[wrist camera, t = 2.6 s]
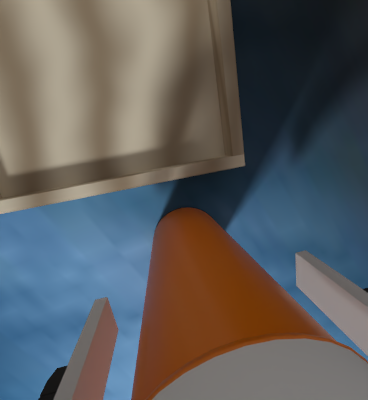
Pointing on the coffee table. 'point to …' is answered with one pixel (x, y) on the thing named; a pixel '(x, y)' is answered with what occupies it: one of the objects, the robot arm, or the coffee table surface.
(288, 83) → the coffee table surface
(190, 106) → the tray
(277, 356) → the shaker bottle
